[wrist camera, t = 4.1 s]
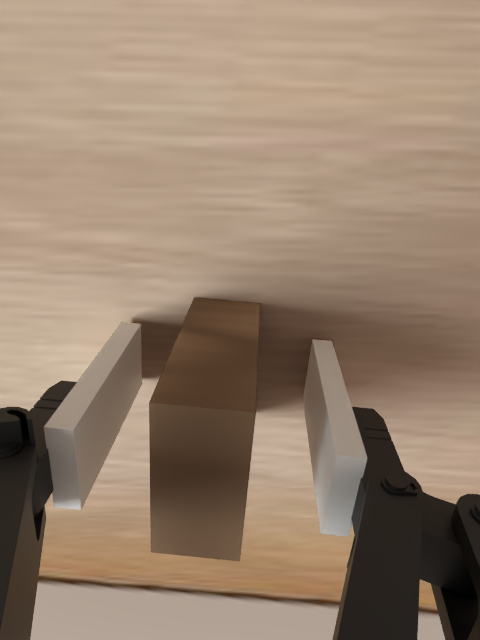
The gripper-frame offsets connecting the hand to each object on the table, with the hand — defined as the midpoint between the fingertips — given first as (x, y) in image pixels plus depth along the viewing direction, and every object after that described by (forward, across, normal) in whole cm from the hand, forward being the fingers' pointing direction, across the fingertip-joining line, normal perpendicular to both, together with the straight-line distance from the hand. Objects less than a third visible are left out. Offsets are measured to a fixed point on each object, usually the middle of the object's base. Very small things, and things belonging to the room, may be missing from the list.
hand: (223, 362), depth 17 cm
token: (0, 0, 0) cm, 0 cm away
